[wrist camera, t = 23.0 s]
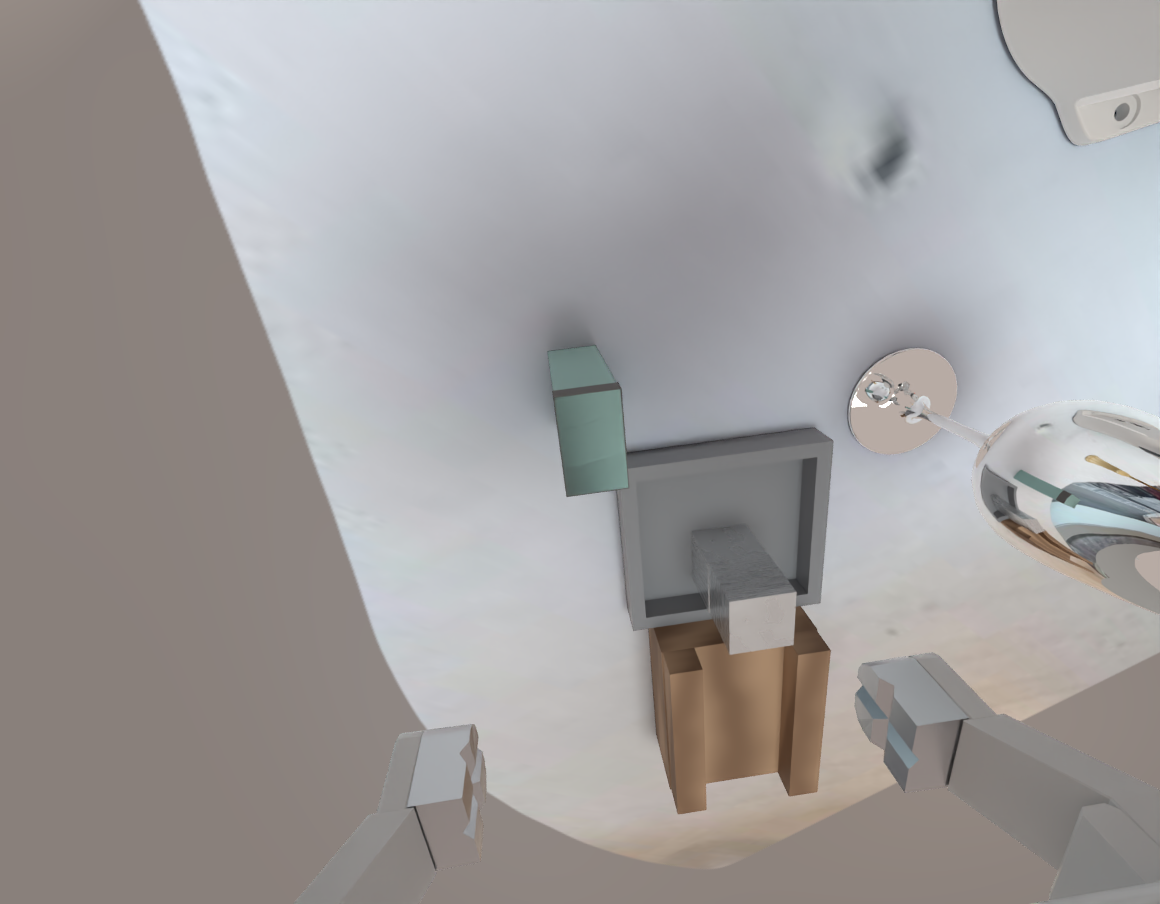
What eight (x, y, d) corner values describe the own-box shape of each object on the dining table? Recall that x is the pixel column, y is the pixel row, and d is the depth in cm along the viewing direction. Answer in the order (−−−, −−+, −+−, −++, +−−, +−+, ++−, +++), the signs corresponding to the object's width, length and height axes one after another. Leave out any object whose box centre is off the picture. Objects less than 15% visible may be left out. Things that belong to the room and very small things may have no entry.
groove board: (785, 585, 42) (832, 650, 35) (779, 715, 47) (818, 791, 41) (646, 605, 41) (668, 674, 35) (656, 734, 47) (676, 814, 40)
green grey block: (546, 350, 33) (553, 396, 24) (596, 344, 33) (621, 387, 24) (556, 427, 35) (566, 497, 26) (603, 421, 35) (629, 488, 26)
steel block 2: (768, 553, 35) (796, 591, 31) (767, 603, 37) (793, 645, 33) (708, 562, 35) (729, 601, 31) (709, 611, 36) (729, 654, 33)
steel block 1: (744, 570, 40) (745, 524, 39) (766, 604, 37) (768, 555, 35) (692, 577, 40) (691, 531, 39) (708, 612, 36) (708, 563, 35)
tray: (814, 427, 37) (833, 440, 35) (804, 582, 42) (820, 603, 40) (613, 454, 36) (619, 470, 34) (627, 608, 41) (633, 630, 39)
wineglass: (908, 470, 39) (1248, 687, 20) (823, 429, 37) (1113, 627, 19) (979, 374, 36) (1438, 522, 18) (892, 325, 35) (1305, 434, 16)
